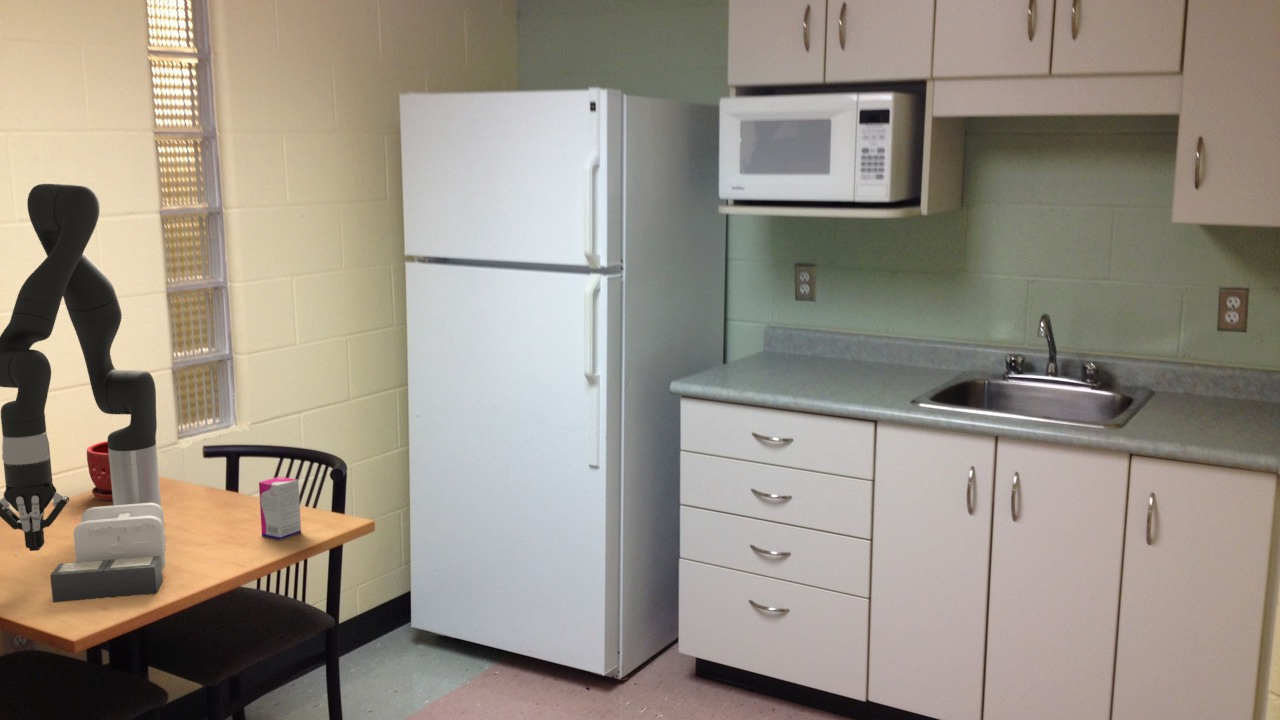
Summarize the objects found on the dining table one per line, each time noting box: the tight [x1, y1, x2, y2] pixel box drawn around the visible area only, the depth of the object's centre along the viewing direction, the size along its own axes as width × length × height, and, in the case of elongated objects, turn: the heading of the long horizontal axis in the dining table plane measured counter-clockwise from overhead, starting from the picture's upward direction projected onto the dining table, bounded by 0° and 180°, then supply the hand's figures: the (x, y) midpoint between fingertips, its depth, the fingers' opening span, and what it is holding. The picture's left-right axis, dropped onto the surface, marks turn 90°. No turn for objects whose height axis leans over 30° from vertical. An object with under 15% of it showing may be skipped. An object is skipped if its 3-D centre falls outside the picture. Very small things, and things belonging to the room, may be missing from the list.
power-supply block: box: [49, 556, 164, 603], centre depth 203 cm, size 6×17×5 cm, turn 103°
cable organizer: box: [73, 503, 167, 570], centre depth 213 cm, size 15×11×12 cm
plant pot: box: [86, 440, 113, 502], centre depth 262 cm, size 13×13×12 cm
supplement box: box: [258, 476, 302, 541], centre depth 234 cm, size 6×6×12 cm
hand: (35, 549), depth 209 cm, fingers closed
